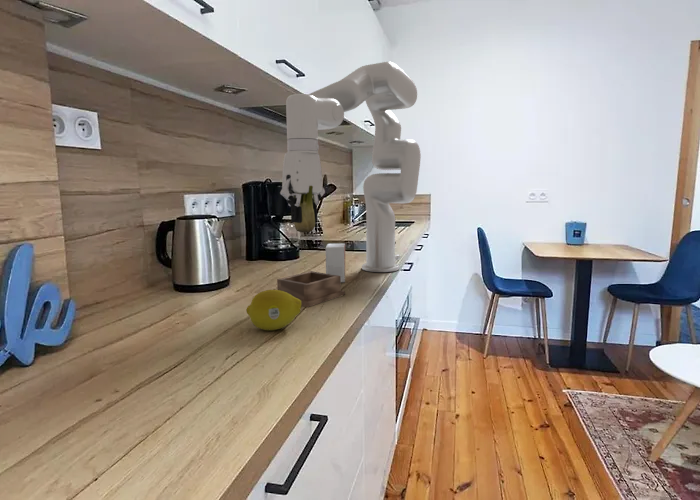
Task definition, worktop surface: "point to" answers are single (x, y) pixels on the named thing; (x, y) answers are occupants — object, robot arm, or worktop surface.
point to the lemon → (273, 309)
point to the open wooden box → (312, 287)
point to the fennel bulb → (306, 213)
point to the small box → (335, 260)
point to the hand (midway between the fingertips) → (304, 220)
